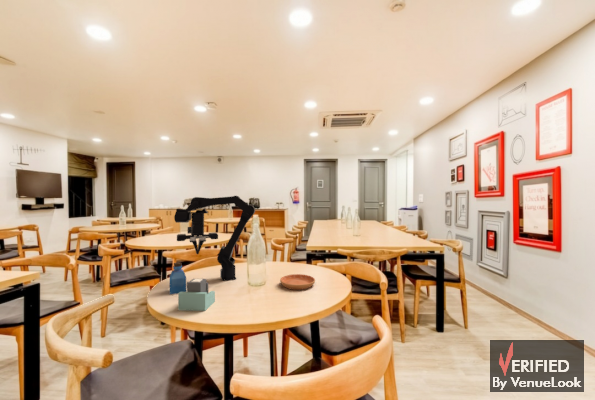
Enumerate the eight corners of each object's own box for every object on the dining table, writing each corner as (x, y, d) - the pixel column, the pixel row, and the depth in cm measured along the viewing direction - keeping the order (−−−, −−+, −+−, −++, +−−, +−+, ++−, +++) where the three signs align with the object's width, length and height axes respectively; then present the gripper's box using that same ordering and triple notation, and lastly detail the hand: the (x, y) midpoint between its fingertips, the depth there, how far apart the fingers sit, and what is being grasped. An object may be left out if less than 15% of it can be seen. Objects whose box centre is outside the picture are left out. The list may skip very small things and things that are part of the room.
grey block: (193, 301, 98) (193, 277, 99) (208, 302, 98) (208, 277, 98) (186, 307, 93) (185, 282, 93) (201, 308, 92) (201, 282, 92)
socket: (190, 300, 100) (190, 285, 100) (214, 301, 99) (214, 285, 99) (178, 310, 91) (178, 293, 91) (205, 310, 91) (205, 293, 91)
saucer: (321, 288, 114) (321, 281, 114) (287, 293, 108) (286, 286, 108) (306, 278, 129) (306, 272, 129) (275, 282, 123) (275, 276, 123)
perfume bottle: (169, 294, 107) (169, 265, 107) (169, 290, 113) (169, 262, 113) (186, 292, 110) (186, 263, 110) (185, 287, 115) (184, 260, 116)
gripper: (214, 221, 139) (214, 250, 139) (176, 221, 131) (176, 252, 131) (218, 222, 129) (218, 253, 129) (177, 223, 121) (176, 257, 121)
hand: (197, 254), depth 127 cm, fingers closed
